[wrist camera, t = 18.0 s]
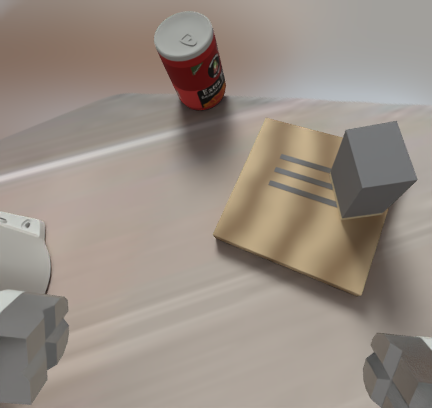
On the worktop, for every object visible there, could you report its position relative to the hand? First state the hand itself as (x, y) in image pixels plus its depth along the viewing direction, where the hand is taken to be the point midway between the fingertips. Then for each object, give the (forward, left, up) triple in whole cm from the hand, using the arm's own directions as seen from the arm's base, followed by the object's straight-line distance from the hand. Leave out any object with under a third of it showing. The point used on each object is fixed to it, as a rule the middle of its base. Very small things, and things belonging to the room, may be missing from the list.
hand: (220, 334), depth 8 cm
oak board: (-1, +16, -30) cm, 34 cm away
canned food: (-22, +28, -30) cm, 46 cm away
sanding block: (+4, +18, -28) cm, 33 cm away
